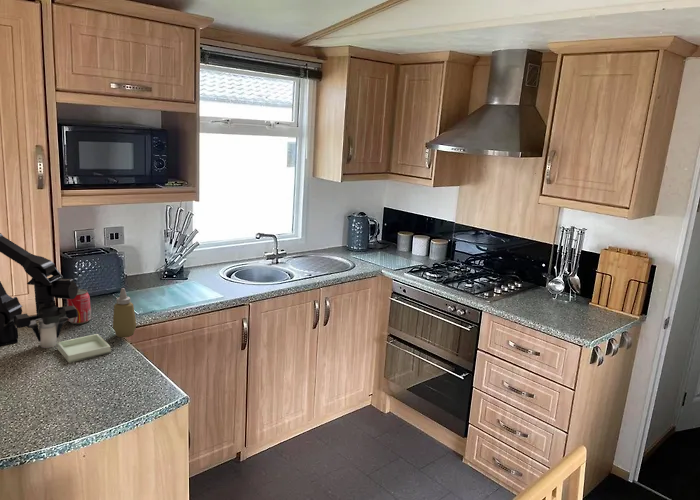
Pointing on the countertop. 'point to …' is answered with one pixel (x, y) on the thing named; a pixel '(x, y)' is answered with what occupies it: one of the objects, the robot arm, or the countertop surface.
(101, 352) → the sage tray
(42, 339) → the ceramic shaker
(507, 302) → the countertop surface
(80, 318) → the beverage can
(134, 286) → the countertop surface
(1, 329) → the robot arm
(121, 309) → the squeeze bottle
